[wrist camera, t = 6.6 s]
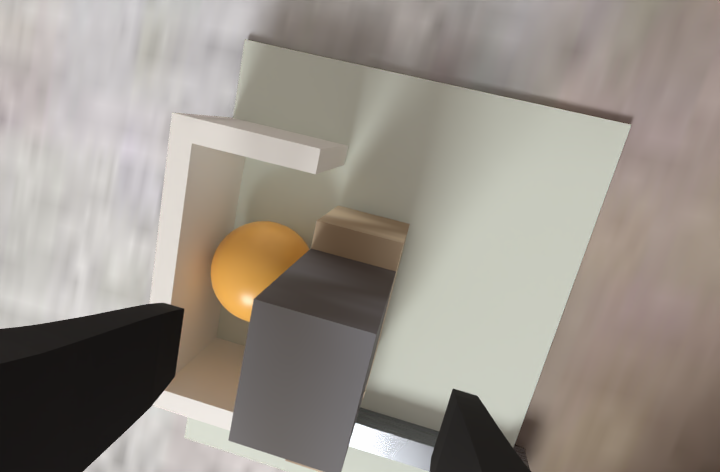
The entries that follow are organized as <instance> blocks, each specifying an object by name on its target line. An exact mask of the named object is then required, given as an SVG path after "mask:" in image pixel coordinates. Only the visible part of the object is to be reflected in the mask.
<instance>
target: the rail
mask: <svg viewBox="0 0 720 472" xmlns="http://www.w3.org/2000/svg"><path fill="white" fill-rule="evenodd" d="M438 434H439V431H436V430H433V429H430V428H426V427H423V426H420V425H417V424H413V423H410V422H407V421H403V420H400V419H397V418H394V417H390V416H387V415H384V414H381V413H377V412H374V411H371V410H368V409H364V408H361V407H360V409H359V412H358V416H357V419H356V423H355V426H354V430H353V433H352V437H351V440H350V444H349V446H350V447H353V448H357V449H360V450H363V451H366V452H369V453H372V454H375V455H379V456H382V457H385V458H388V459H391V460H394V461H398V462H401V463H404V464H407V465H410V466H413V467H416V468H420V469H423V470H426V471H429V472H430V463H431V456H432V453H433V450H434V447H435V444H436V440H437V437H438ZM513 449H514V450H515V451H516V453H517V454H518V455H519V457H520V458H521V459H522V461H523V462H524V463H525V465H526V466H527V467H528V468H529V465H528V461H527V458H526V454H525V450H524V448H521V447H518V446H515V445H514V448H513ZM529 470H530V469H529Z"/></svg>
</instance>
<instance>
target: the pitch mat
mask: <svg viewBox="0 0 720 472" xmlns="http://www.w3.org/2000/svg"><path fill="white" fill-rule="evenodd" d="M233 118H236V119H240V120H244V121H249V122H253V123H257V124H261V125H265V126H269V127H273V128H277V129H282V130H286V131H290V132H294V133H298V134H302V135H306V136H311V137H315V138H319V139H323V140H327V141H331V142H335V143H339V144H344V145H348V150H347V155H346V159H345V164H344V165H343V166H340V167H337V168H334V169H331V170H328V171H324V172H321V173H318V174H312V173H308V172H304V171H300V170H296V169H292V168H288V167H284V166H280V165H276V164H273V163H269V162H265V161H261V160H257V159H253V158H249V157H245V162H244V168H243V175H242V181H241V187H240V193H239V199H238V206H237V212H236V218H235V224H234V230H235V229H236V228H238V227H240V226H242V225H245V224H248V223H252V222H257V221H270V222H276V223H279V224H282V225H285V226H287V227H289V228H290V229H292V230H293V231H295V232H296V233H297V234H298V235H299V236H301V237H302V239H303V240H304V241H305V243H306V244H307V245H308V247H309V249H311V245H312V240H313V236H314V231H315V226H316V221H317V220H318V219H319V218H321V217H322V216H324V215H325V214H327V213H328V212H329V211H331V210H332V209H334V208H335V207H337V206H342V207H346V208H350V209H354V210H358V211H362V212H365V213H369V214H373V215H377V216H381V217H385V218H389V219H393V220H397V221H400V222H404V223H408V224H410V225H409V229H408V233H407V237H406V241H405V245H404V248H403V252H402V256H401V260H400V264H399V268H398V271H397V275H396V279H395V283H394V287H393V291H392V294H391V298H390V302H389V306H388V310H387V314H386V317H385V321H384V325H383V329H382V333H381V337H380V341H379V344H378V348H377V352H376V356H375V359H374V363H373V366H372V370H371V373H370V377H369V380H368V384H367V387H366V391H365V394H364V398H363V400H362V402H361V406H360V407H361V408H364V409H368V410H371V411H374V412H377V413H381V414H384V415H387V416H390V417H394V418H397V419H400V420H403V421H407V422H410V423H413V424H417V425H420V426H423V427H426V428H430V429H433V430H436V431H440V428H441V424H442V421H443V418H444V415H445V412H446V408H447V405H448V402H449V399H450V396H451V392H452V389H457V390H460V391H463V392H467V393H470V394H473V395H477V396H478V397H479V399H480V400H481V401H482V403H483V404H484V406H485V407H486V409H487V410H488V412H489V413H490V415H491V416H492V418H493V419H494V421H495V422H496V424H497V425H498V427H499V428H500V430H501V431H502V433H503V434H504V436H505V437H506V439H507V440H508V442H509V443H510V444H511V446H512V447H513V448H514V445H515V442H516V439H517V437H518V434H519V431H520V428H521V426H522V423H523V420H524V418H525V415H526V412H527V409H528V407H529V404H530V401H531V398H532V396H533V393H534V390H535V387H536V385H537V382H538V379H539V376H540V374H541V371H542V368H543V365H544V363H545V360H546V357H547V355H548V352H549V349H550V346H551V344H552V341H553V338H554V335H555V333H556V330H557V327H558V324H559V322H560V319H561V316H562V313H563V311H564V308H565V305H566V303H567V300H568V297H569V294H570V292H571V289H572V286H573V283H574V281H575V278H576V275H577V272H578V270H579V267H580V264H581V261H582V259H583V256H584V253H585V251H586V248H587V245H588V242H589V240H590V237H591V234H592V231H593V229H594V226H595V223H596V220H597V218H598V215H599V212H600V209H601V207H602V204H603V201H604V199H605V196H606V193H607V190H608V188H609V185H610V182H611V179H612V177H613V174H614V171H615V168H616V166H617V163H618V160H619V157H620V155H621V152H622V149H623V147H624V144H625V141H626V138H627V136H628V133H629V130H630V127H631V125H630V124H626V123H621V122H617V121H612V120H608V119H603V118H599V117H594V116H590V115H585V114H580V113H576V112H571V111H567V110H562V109H558V108H553V107H549V106H544V105H540V104H535V103H531V102H526V101H522V100H517V99H513V98H508V97H504V96H499V95H495V94H490V93H485V92H481V91H476V90H472V89H467V88H463V87H458V86H454V85H449V84H445V83H440V82H436V81H431V80H427V79H422V78H418V77H413V76H409V75H404V74H400V73H395V72H390V71H386V70H381V69H377V68H372V67H368V66H363V65H359V64H354V63H350V62H345V61H341V60H336V59H332V58H327V57H323V56H318V55H314V54H309V53H305V52H300V51H296V50H291V49H286V48H282V47H277V46H273V45H268V44H264V43H259V42H255V41H250V40H246V39H245V41H244V48H243V55H242V61H241V68H240V74H239V81H238V88H237V94H236V101H235V107H234V114H233ZM249 323H250V322H248V321H245V320H242V319H240V318H238V317H236V316H234V315H233V314H231V313H230V312H229V311H228V310H227V309H226V308H224V306H223V305H221V311H220V317H219V323H218V329H217V336H216V338H220V339H223V340H226V341H230V342H233V343H236V344H240V345H243V346H245V345H246V339H247V334H248V328H249ZM229 434H230V431H229V430H226V429H223V428H220V427H217V426H214V425H210V424H207V423H204V422H201V421H198V420H195V419H192V418H189V417H188V418H187V424H186V431H185V438H186V439H189V440H192V441H195V442H198V443H201V444H204V445H207V446H210V447H214V448H217V449H220V450H223V451H226V452H229V453H232V454H235V455H238V456H241V457H244V458H247V459H250V460H253V461H256V462H259V463H262V464H265V465H268V466H271V467H274V468H277V469H281V470H284V471H287V472H318V471H315V470H312V469H309V468H306V467H303V466H300V465H297V464H294V463H291V462H288V461H285V459H283V458H280V457H277V456H274V455H271V454H268V453H265V452H262V451H259V450H256V449H253V448H250V447H247V446H243V445H240V444H237V443H234V442H231V441H228V439H229ZM341 472H429V471H426V470H423V469H420V468H416V467H413V466H410V465H407V464H404V463H401V462H398V461H394V460H391V459H388V458H385V457H382V456H379V455H375V454H372V453H369V452H366V451H363V450H360V449H357V448H353V447H350V446H349V447H348V450H347V454H346V457H345V461H344V464H343V468H342V471H341Z"/></svg>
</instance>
